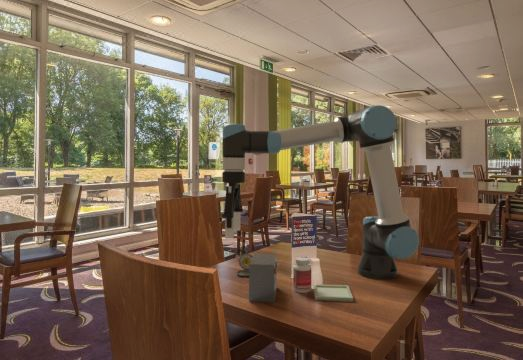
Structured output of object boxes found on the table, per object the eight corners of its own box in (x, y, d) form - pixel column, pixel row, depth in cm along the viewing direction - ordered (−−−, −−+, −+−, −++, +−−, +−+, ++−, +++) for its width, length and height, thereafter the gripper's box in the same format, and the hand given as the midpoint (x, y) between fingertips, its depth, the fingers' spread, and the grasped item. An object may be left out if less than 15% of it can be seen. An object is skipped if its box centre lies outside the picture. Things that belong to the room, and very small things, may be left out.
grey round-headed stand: (240, 278, 142) (240, 252, 141) (232, 272, 150) (232, 247, 149) (259, 275, 145) (259, 250, 145) (251, 269, 153) (251, 245, 152)
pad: (348, 288, 130) (348, 285, 130) (353, 301, 118) (353, 297, 118) (313, 287, 131) (313, 284, 131) (315, 300, 119) (315, 296, 119)
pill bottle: (314, 291, 127) (315, 259, 127) (301, 294, 124) (301, 262, 123) (303, 286, 133) (303, 255, 132) (289, 289, 129) (289, 258, 129)
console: (278, 287, 131) (278, 253, 131) (276, 302, 117) (276, 264, 117) (253, 286, 132) (253, 253, 131) (247, 301, 118) (247, 264, 117)
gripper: (229, 170, 136) (229, 227, 137) (214, 171, 112) (213, 241, 112) (249, 170, 136) (249, 227, 137) (238, 171, 111) (238, 242, 112)
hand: (233, 234), depth 125 cm, fingers open, 13 cm apart
